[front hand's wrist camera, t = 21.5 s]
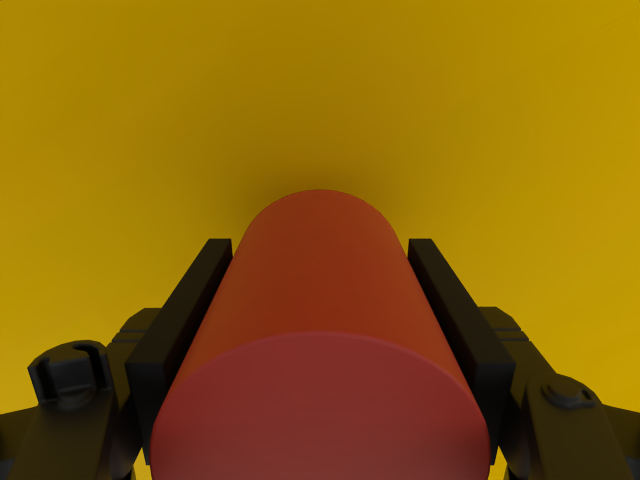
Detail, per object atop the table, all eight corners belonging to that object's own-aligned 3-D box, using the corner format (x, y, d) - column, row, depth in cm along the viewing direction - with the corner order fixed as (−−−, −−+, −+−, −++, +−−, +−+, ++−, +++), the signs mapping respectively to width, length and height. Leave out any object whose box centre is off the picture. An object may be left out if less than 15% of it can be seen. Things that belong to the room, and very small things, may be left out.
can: (217, 309, 16) (116, 540, 8) (268, 162, 14) (199, 278, 6) (362, 356, 16) (400, 607, 9) (431, 225, 14) (562, 400, 7)
